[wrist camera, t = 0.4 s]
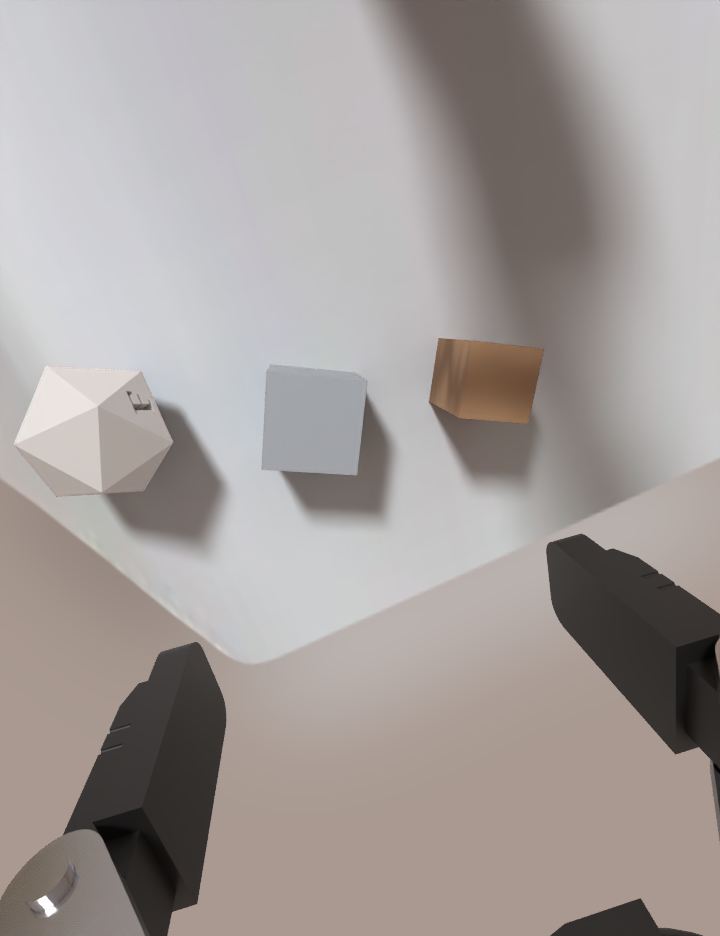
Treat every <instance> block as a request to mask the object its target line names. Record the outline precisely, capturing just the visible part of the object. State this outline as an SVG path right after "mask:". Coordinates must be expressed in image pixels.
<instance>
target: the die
mask: <svg viewBox="0 0 720 936" xmlns="http://www.w3.org/2000/svg"><path fill="white" fill-rule="evenodd" d="M172 444H173V440H172V438H171V436H170V434H169V432H168V429H167V427H166V425H165V423H164V420H163V418H162V416H161V414H160V412H159V409H158V407H157V405H156V403H155V400H154V398H153V396H152V394H151V392H150V389H149V387H148V385H147V383H146V380H145V378H144V376H143V374H142V372H141V371H132V370H114V369H95V368H77V367H59V366H46V367H45V369H44V372H43V374H42V377H41V379H40V382H39V384H38V387H37V389H36V392H35V394H34V397H33V399H32V401H31V404H30V406H29V409H28V411H27V414H26V416H25V419H24V421H23V424H22V426H21V429H20V431H19V433H18V436H17V438H16V441H15V443H14V446H15V447H16V448H17V449H18V451H19V452H20V453H21V454H22V455H23V457H24V458H25V459H26V460H27V462H28V463H29V464H30V465H31V466H32V468H33V469H34V470H35V471H36V473H37V474H38V475H39V476H40V477H41V479H42V480H43V481H44V482H45V483H46V485H47V486H48V487H49V488H50V490H51V491H52V492H53V493H54V494H55V496H56V497H60V496H76V495H92V494H108V493H124V492H140V491H144V490H145V489H146V487H147V485H148V484H149V482H150V480H151V479H152V477H153V475H154V474H155V472H156V470H157V469H158V467H159V466H160V464H161V462H162V461H163V459H164V457H165V456H166V454H167V452H168V451H169V449H170V447H171V446H172Z"/></svg>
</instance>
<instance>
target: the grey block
mask: <svg viewBox="0 0 720 936" xmlns="http://www.w3.org/2000/svg"><path fill="white" fill-rule="evenodd" d="M366 390H367V380H365V379H364V378H362V377H361V376H359V375H358V374H356V373H352V372H342V371H332V370H322V369H312V368H301V367H291V366H281V365H271V364H270V366H269V368H268V370H267V372H266V392H265V412H264V432H263V452H262V470H275V471H292V472H308V473H325V474H342V475H357V471H358V462H359V453H360V444H361V435H362V426H363V417H364V408H365V399H366Z"/></svg>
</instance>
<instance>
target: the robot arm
mask: <svg viewBox="0 0 720 936" xmlns="http://www.w3.org/2000/svg"><path fill="white" fill-rule="evenodd" d="M546 550H547V551H546V553H547V563H548V572H549V581H550V591H551V600H552V604H553V608H554V611H555V613H556V615H557V617H558V619H559V621H560V623H561V624H562V625H563V627H564V628H565V629H566V630H567V631H568V633H569V634H570V635H571V636H572V637H573V638H574V639H575V641H576V642H577V643H578V644H579V645H580V646H581V647H582V649H583V650H584V651H585V652H586V653H587V654H588V655H589V657H590V658H591V659H592V660H593V661H594V662H595V663H596V665H597V666H598V667H599V668H600V669H601V670H602V671H603V672H604V673H605V675H606V676H607V677H608V678H609V679H610V680H611V682H612V683H613V684H614V685H615V686H616V687H617V688H618V690H619V691H620V692H621V693H622V694H623V695H624V696H625V697H626V699H627V700H628V701H629V702H630V703H631V704H632V705H633V707H634V708H635V709H636V710H637V711H638V712H639V713H640V715H641V716H642V717H643V718H644V719H645V720H646V721H647V723H648V724H649V725H650V726H651V727H652V728H653V729H654V730H655V732H657V734H658V735H659V736H660V737H661V738H662V740H663V741H664V742H665V743H666V744H667V745H668V747H669V748H670V749H671V750H672V751H673V752H674V753H675V754H678V753H681V752H685V751H687V750H691V749H694V748H697V747H700V749H701V750H702V751H703V752H704V753H705V754H706V755H707V756H708V757H709V758H710V759H711V761H710V774H711V781H712V788H713V796H714V803H715V810H716V818H717V825H718V832H719V840H720V614H719V613H717V612H716V611H715V610H713V609H712V608H710V607H709V606H707V605H706V604H704V603H703V602H701V601H700V600H699V599H697V598H696V597H694V596H693V595H691V594H690V593H688V592H687V591H686V590H684V589H683V588H681V587H680V586H676V585H675V584H674V582H673V581H671V580H670V579H668V578H667V577H665V576H664V575H663V574H659V573H658V571H657V570H655V569H654V568H653V567H651V566H650V565H648V564H647V563H645V562H644V561H642V560H641V559H640V558H638V557H635V556H632V555H630V554H626V553H624V552H621V551H618V550H615V549H609V550H605V549H603V548H602V547H601V546H599V545H598V544H596V543H595V542H594V541H592V540H591V539H590V538H588V537H587V536H585V535H583V534H578V535H575V536H571V537H568V538H564V539H561V540H557V541H554V542H550V543H549V544H548V545H547V549H546ZM225 728H226V708H225V702H224V698H223V695H222V693H221V690H220V688H219V686H218V683H217V681H216V679H215V676H214V674H213V672H212V670H211V667H210V665H209V662H208V660H207V658H206V656H205V653H204V651H203V649H202V647H201V645H200V644H199V643H197V642H194V643H191V644H187V645H184V646H180V647H177V648H173V649H170V650H166V651H163V652H161V653H160V654H159V655H158V657H157V659H156V662H155V665H154V667H153V670H152V672H151V675H150V677H149V680H148V681H146V682H142V683H139V684H138V685H137V686H136V687H135V689H134V690H133V691H132V692H131V693H130V695H129V696H128V697H127V698H126V700H125V701H124V702H123V703H122V704H121V706H120V707H119V710H118V712H117V714H116V716H115V719H114V721H113V723H112V725H111V728H110V734H108V735H107V737H106V739H105V741H104V743H103V746H102V748H101V754H100V755H98V757H97V759H96V762H95V764H94V766H93V768H92V771H91V773H90V775H89V777H88V780H87V782H86V785H85V786H84V789H83V791H82V793H81V796H80V798H79V800H78V802H77V804H76V807H75V809H74V812H73V814H72V816H71V818H70V820H69V823H68V825H67V827H66V829H65V832H64V834H63V836H61V837H59V838H57V839H56V840H54V841H52V842H51V843H50V844H48V845H47V846H45V847H44V848H43V849H41V850H40V851H39V852H38V853H37V854H36V855H35V856H33V857H32V858H31V859H30V860H29V861H28V862H27V863H26V864H25V865H24V866H23V867H22V869H21V870H20V871H19V872H18V874H17V875H16V876H15V877H14V879H13V880H12V881H11V883H10V884H9V886H8V887H7V889H6V891H5V892H4V894H3V895H2V897H1V900H0V936H167V934H168V929H169V924H170V919H171V914H172V912H173V911H176V910H179V909H182V908H186V907H189V906H192V905H195V904H197V901H198V895H199V889H200V883H201V877H202V870H203V864H204V858H205V852H206V846H207V840H208V833H209V827H210V821H211V815H212V809H213V802H214V796H215V790H216V784H217V778H218V771H219V765H220V759H221V753H222V746H223V741H224V735H225ZM551 936H702V935H699V934H696V933H692V932H687V931H682V930H676V929H671V928H658V927H657V925H656V923H655V922H654V920H653V918H652V917H651V915H650V913H649V912H648V910H647V908H646V907H645V905H644V903H643V902H642V900H641V899H637V900H635V901H631V902H628V903H625V904H623V905H619V906H616V907H613V908H610V909H607V910H604V911H601V912H599V913H596V914H593V915H590V916H587V917H584V918H581V919H578V920H575V921H572V922H569V923H566V924H564V925H563V926H562V927H561V928H559V929H558V930H557V931H556V932H554V933H553V934H552V935H551Z"/></svg>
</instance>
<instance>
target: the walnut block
mask: <svg viewBox="0 0 720 936" xmlns="http://www.w3.org/2000/svg"><path fill="white" fill-rule="evenodd" d="M543 351H544V349H540V348H532V347H523V346H514V345H505V344H496V343H488V342H479V341H469V340H456V339H442V338H439V339H438V346H437V352H436V359H435V366H434V373H433V379H432V386H431V393H430V399H429V402H430V403H432V404H434V405H436V406H437V407H439V408H441V409H443V410H445V411H447V412H449V413H450V414H452V415H454V416H456V417H458V418H464V419H476V420H488V421H500V422H511V423H523V424H528V422H529V417H530V413H531V408H532V403H533V398H534V394H535V389H536V384H537V379H538V375H539V370H540V365H541V361H542V356H543Z"/></svg>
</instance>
